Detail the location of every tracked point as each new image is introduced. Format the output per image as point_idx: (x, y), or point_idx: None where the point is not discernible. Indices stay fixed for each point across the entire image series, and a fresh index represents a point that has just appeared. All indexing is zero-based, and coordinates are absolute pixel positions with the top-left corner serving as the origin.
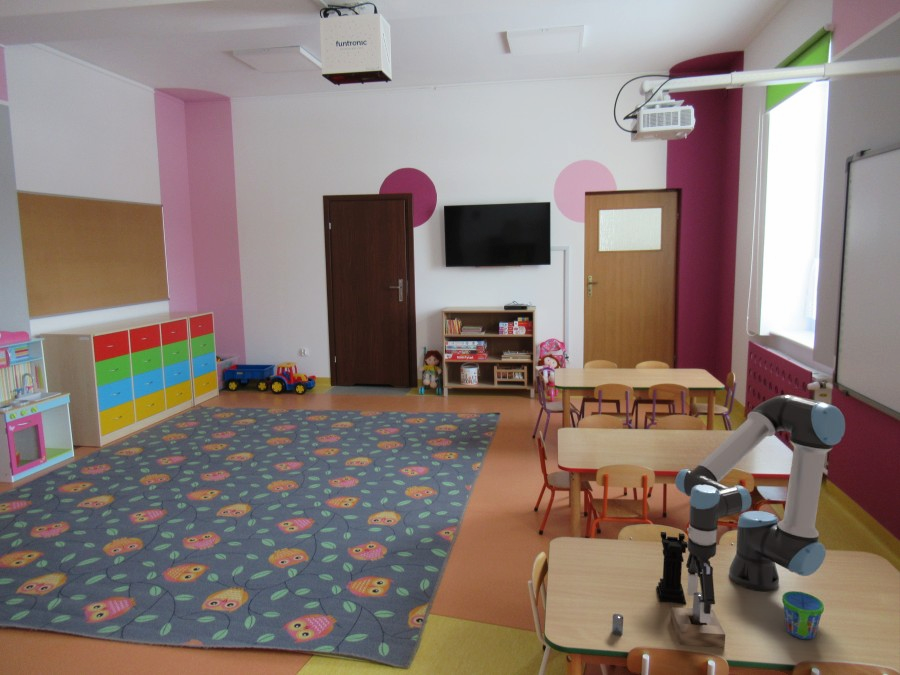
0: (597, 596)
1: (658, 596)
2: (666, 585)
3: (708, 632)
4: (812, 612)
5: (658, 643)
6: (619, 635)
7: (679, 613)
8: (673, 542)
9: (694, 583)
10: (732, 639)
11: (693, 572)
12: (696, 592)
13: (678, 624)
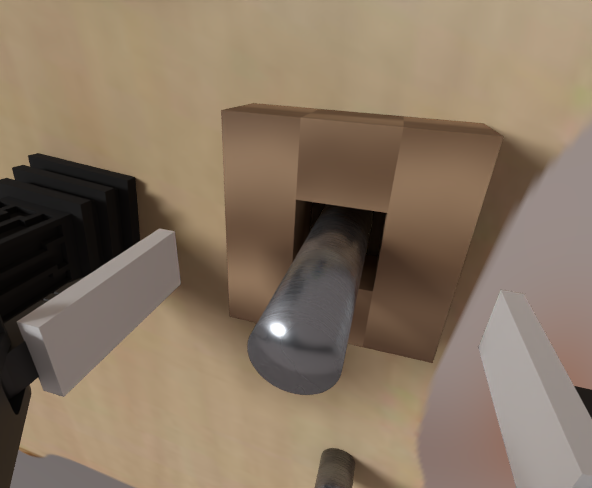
0: (159, 427)
1: None
2: (70, 277)
3: (463, 239)
4: None
5: (409, 385)
6: (354, 462)
7: None
8: None
9: (112, 302)
10: (415, 40)
11: (10, 370)
12: (251, 357)
13: (370, 348)
